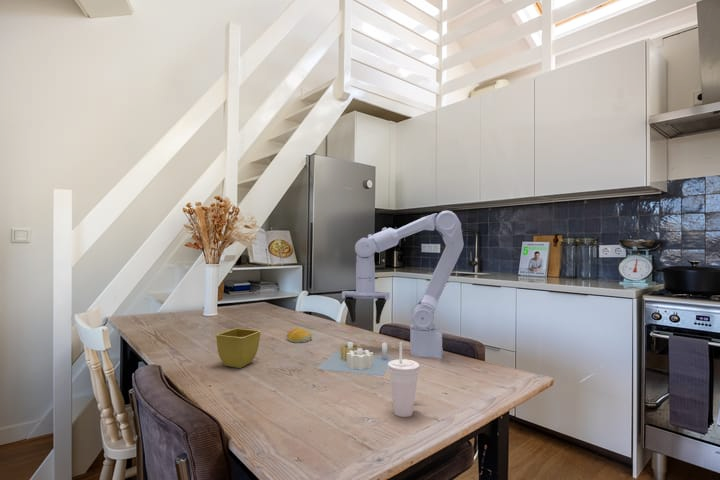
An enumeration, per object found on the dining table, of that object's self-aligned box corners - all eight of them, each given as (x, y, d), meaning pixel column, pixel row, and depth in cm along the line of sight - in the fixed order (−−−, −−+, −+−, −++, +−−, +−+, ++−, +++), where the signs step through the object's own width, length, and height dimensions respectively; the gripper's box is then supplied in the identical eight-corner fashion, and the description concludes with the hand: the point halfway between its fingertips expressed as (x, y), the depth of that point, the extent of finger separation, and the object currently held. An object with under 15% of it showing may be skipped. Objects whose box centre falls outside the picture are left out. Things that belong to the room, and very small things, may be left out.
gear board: (395, 361, 107) (395, 341, 107) (382, 380, 92) (382, 357, 92) (336, 355, 112) (336, 336, 113) (315, 373, 97) (315, 351, 97)
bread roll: (296, 344, 126) (296, 333, 126) (283, 339, 132) (283, 328, 132) (316, 340, 131) (316, 329, 131) (303, 336, 138) (303, 325, 138)
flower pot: (261, 362, 106) (261, 330, 107) (242, 371, 98) (242, 337, 98) (235, 358, 109) (235, 328, 109) (214, 368, 101) (215, 334, 101)
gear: (375, 363, 102) (375, 350, 102) (368, 371, 95) (368, 357, 95) (351, 360, 104) (351, 348, 104) (343, 368, 97) (343, 355, 97)
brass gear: (362, 356, 108) (362, 344, 108) (357, 362, 103) (357, 349, 103) (344, 354, 109) (344, 343, 109) (338, 360, 104) (338, 348, 104)
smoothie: (385, 406, 77) (385, 338, 78) (415, 405, 78) (415, 337, 78) (390, 420, 71) (390, 346, 71) (423, 419, 71) (423, 346, 72)
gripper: (338, 278, 112) (338, 323, 112) (386, 279, 108) (386, 326, 108) (345, 276, 119) (345, 319, 119) (390, 277, 115) (390, 321, 115)
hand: (365, 322), depth 114 cm, fingers open, 7 cm apart
